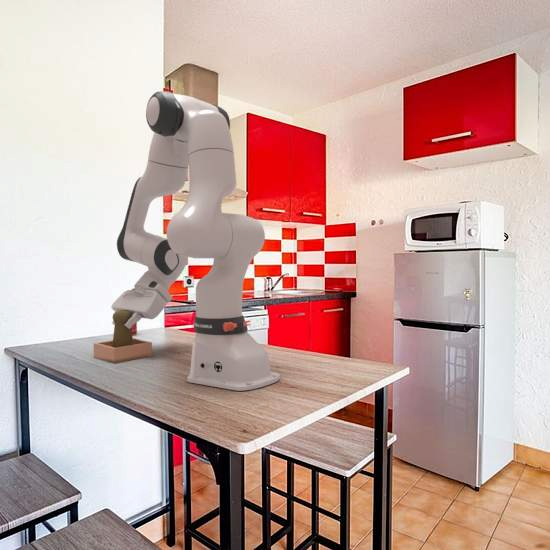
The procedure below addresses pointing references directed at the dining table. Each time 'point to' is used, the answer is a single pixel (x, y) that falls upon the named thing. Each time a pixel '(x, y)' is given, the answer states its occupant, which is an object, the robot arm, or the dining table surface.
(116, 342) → the cork
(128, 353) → the shallow wooden box
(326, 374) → the dining table surface
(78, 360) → the dining table surface
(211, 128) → the robot arm
